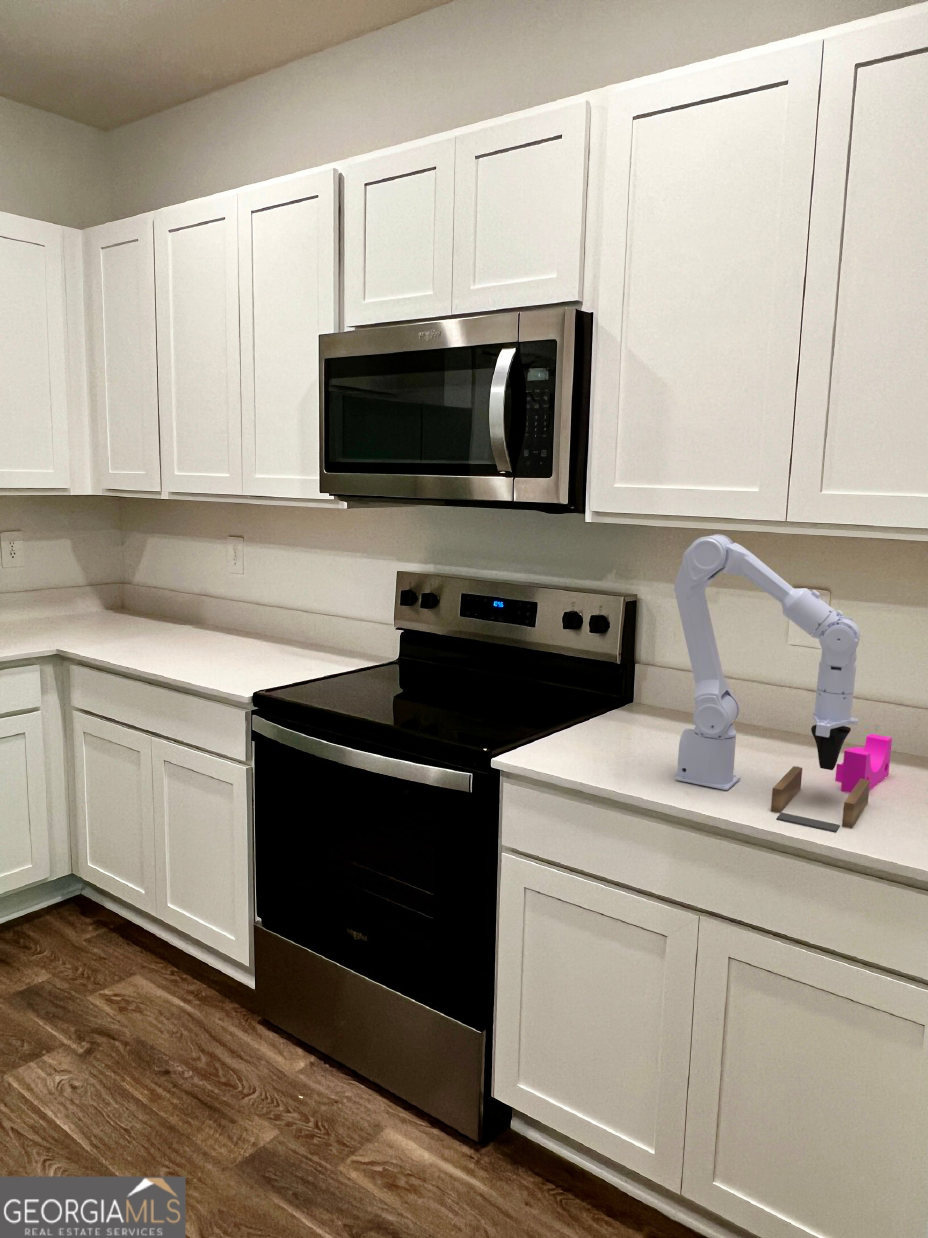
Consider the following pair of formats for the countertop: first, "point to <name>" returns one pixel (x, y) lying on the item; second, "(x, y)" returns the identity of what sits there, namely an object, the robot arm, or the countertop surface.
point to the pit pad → (808, 822)
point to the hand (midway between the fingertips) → (827, 768)
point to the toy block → (865, 763)
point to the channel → (792, 785)
